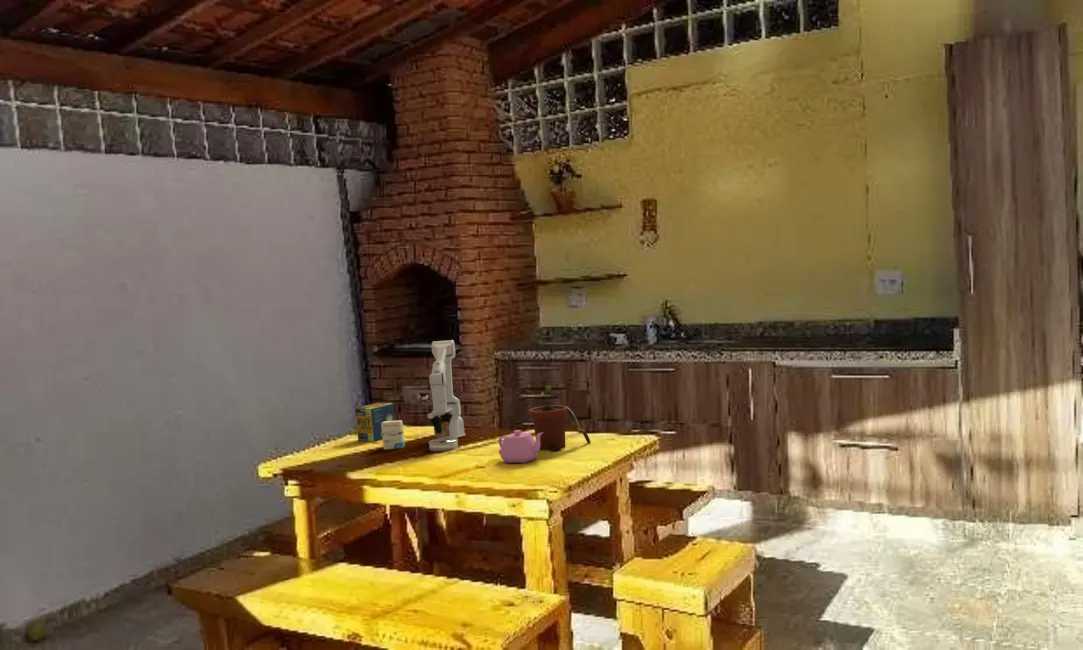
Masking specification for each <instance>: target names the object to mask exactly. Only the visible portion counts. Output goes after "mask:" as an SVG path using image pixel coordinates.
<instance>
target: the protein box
mask: <svg viewBox="0 0 1083 650" xmlns="http://www.w3.org/2000/svg"><path fill="white" fill-rule="evenodd" d="M354 409H355V421H356V422H355V423H356V432H357V440H358V442H367V443H368V442H370V443H376V442H379V441H383V437H382V427H381V423H382V422H384V421H396V414H395V404H394V403H392V402H390V403H389V402H375V403H371V404H368V405H363V406H360V407H355V408H354Z"/></svg>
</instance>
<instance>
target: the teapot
mask: <svg viewBox="0 0 1083 650" xmlns="http://www.w3.org/2000/svg"><path fill="white" fill-rule="evenodd" d="M542 433H544V432H542ZM542 433H539V434H537V436H536V437H535V439H534V437H533V435H532V434H531V433H530V432H529V433H528V432H522V430H521V429H518V430H517V429H516V430H513V433H510V434H507V435H502V436H500V437H498V445H499V447H500V449H499V450H498V454H499V455H500V458H501V460H502V461H504V462H505V463H508V464H513V463H520V464H526V463H527V462H530V461H533V460H535V459H536V458H537V456H538V454H539V451H540V450H539V449H540V436H541V435H542Z"/></svg>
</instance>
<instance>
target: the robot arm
mask: <svg viewBox="0 0 1083 650" xmlns="http://www.w3.org/2000/svg"><path fill="white" fill-rule="evenodd" d="M431 352H432V355H433V357H434V358H435V361H434V362H433V364H432V368H431V374H429V378H428V381H429V385H430V391H431V395H432V396H431V397H432V406H433V410H432V411H431V412H429V413H427V419H429V421H430V422H431V424H432V425H433V426H432V427H433V429H434V428H435V431H436V434H440V433H441V422H448V423H449V433H450V436H447V437H444V438H457V439H458V438H460V437H461V438H462V437H464V436H466V435H467V434H466V432H465V423H464V419H463V418H462V417H461V413H462V408H461V401H460V398H458V397H456V396H455V395H454V389H453V387H454V386H453V373H452V370H453V369H452V362H453V361H452V360H453V359H455V358H456V345H455V340H453V339H451V340H437V341H434V340H433V341H432V342H431Z"/></svg>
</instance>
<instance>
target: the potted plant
mask: <svg viewBox="0 0 1083 650" xmlns="http://www.w3.org/2000/svg"><path fill="white" fill-rule="evenodd" d="M551 390H552V386H551V385H550V384H549V385H546V386H545V392H544V391H541V393H540V396H543V397H545V401H546V405H543V406H541V405H540V406H537V407H532V408H529V410H528V413H529V417H530V418H532V422H533V428H534V434H535V435H534V436H535V438H536V436H537V434H539V433H542V432H544V433H542V435H541V436H540V449H539V451H550V452H551V453H556V452H559V451H560V452H561V451H562V449H564V448H565V447H566V422H565V421H566V418H565V417H566V416H567V415H568V412H569V415H570V416H571V419H572V420H573V422H574V424H575V427H576V429H577V430H578V431H582V435H583V436H584V439H585V441H586V443H587V444H590V443H592V442H591V441H592V440H591V439H590V437H589V435H588V433H587V431H586V430H584V429H582V428H581V425H580V423H579V421H578V418H577V417H576V415H575V414H574V412H573V411H572V409H570V408H569V406H567V405H561V404H558V405H557V404H556V405H555V404H549V402H548V401H549V400H548V396H547V393H548V392H549V391H551Z"/></svg>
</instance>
